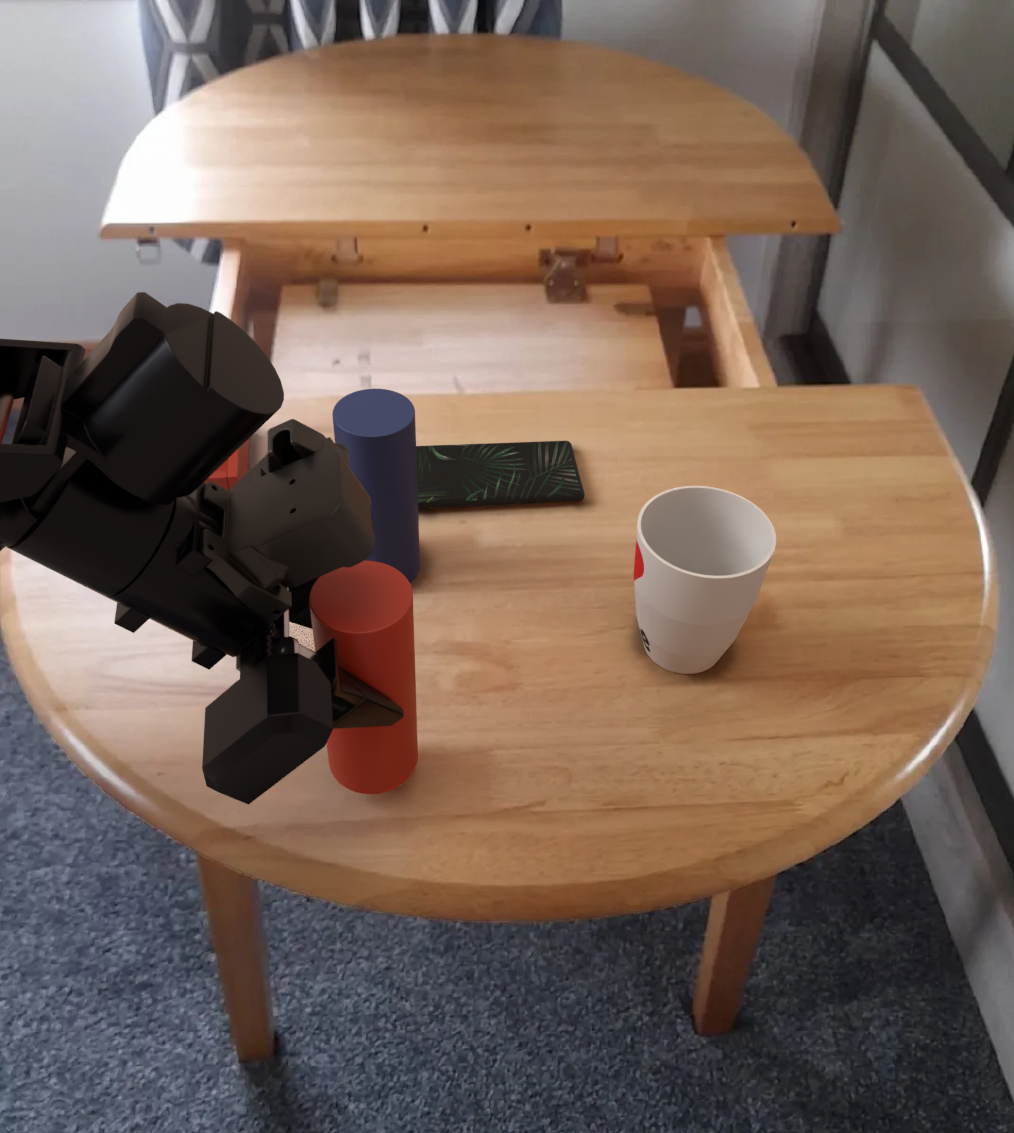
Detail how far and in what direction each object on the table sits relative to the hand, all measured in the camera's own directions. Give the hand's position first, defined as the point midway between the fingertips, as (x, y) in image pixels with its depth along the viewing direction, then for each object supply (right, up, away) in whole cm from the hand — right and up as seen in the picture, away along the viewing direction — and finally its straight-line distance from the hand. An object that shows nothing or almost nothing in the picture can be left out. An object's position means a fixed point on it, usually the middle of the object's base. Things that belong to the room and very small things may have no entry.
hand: (394, 679), depth 59 cm
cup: (+17, +1, +14) cm, 22 cm away
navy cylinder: (-3, +6, +18) cm, 19 cm away
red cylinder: (-2, -5, +4) cm, 7 cm away
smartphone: (+4, +12, +25) cm, 28 cm away
